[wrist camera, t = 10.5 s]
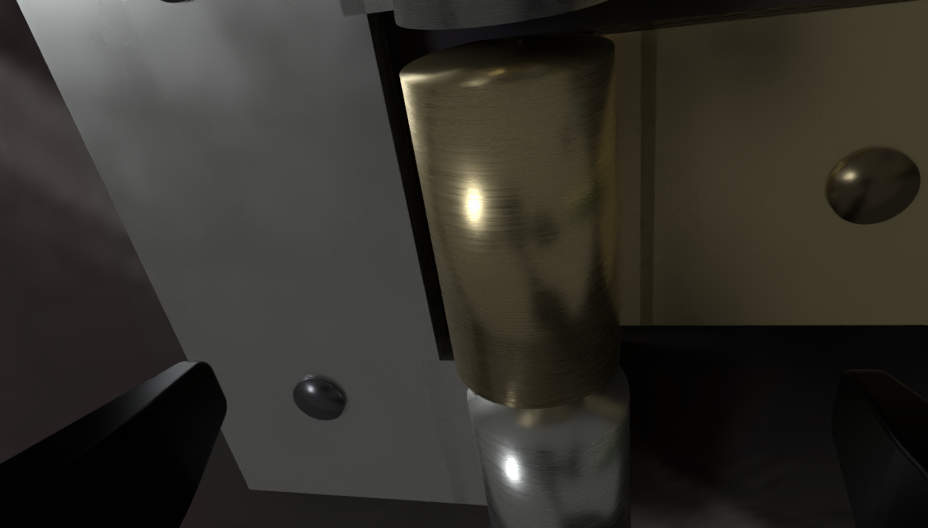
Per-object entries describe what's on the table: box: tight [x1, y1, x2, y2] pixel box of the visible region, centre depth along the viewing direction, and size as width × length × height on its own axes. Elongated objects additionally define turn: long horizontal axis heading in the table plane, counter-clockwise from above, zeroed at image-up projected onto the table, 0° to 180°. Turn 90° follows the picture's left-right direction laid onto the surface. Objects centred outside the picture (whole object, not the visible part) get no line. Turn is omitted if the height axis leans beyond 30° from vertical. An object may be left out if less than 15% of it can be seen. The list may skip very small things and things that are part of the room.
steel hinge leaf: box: [17, 0, 631, 528], centre depth 14 cm, size 21×13×4 cm, turn 8°
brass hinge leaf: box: [399, 0, 928, 409], centre depth 12 cm, size 7×13×4 cm, turn 98°
